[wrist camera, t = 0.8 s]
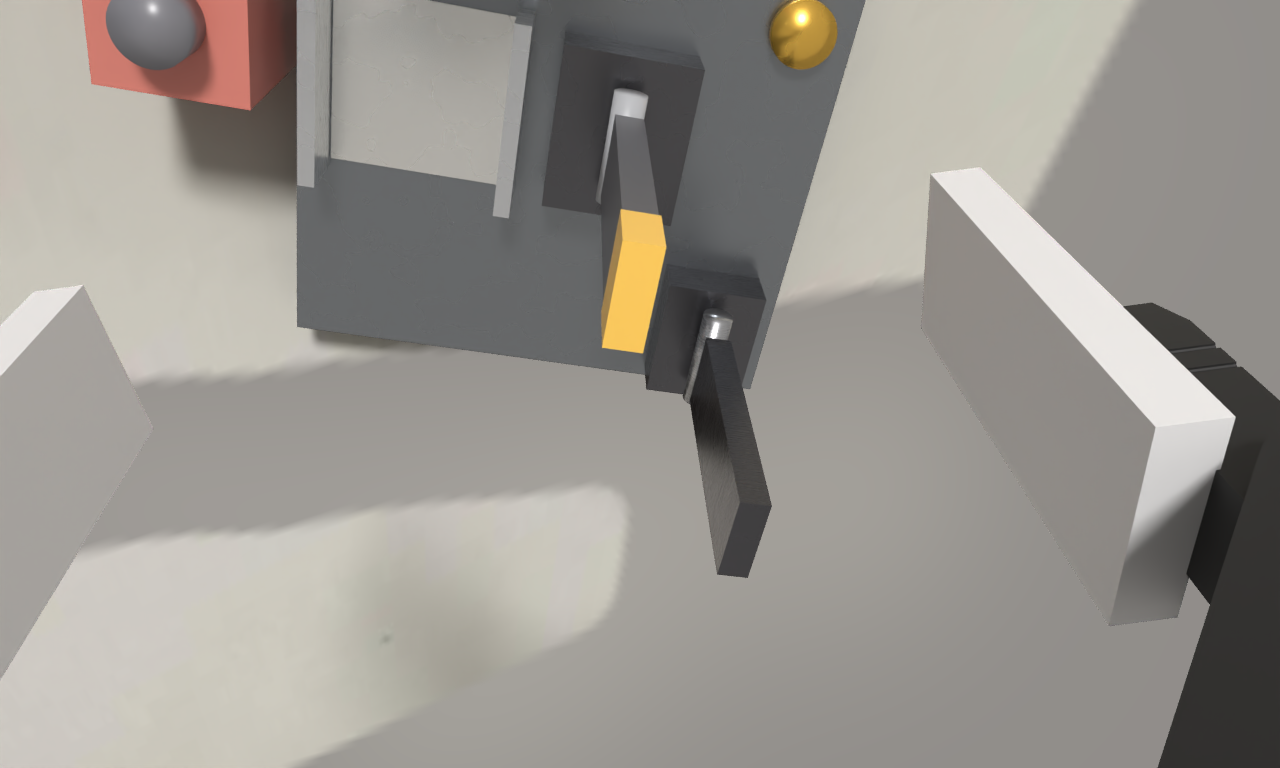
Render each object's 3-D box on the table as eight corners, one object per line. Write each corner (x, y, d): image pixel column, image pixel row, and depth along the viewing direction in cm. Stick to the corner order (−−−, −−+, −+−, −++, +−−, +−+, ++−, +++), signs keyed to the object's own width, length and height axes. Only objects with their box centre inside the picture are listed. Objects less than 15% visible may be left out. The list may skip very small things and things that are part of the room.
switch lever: (595, 193, 35) (597, 361, 25) (614, 86, 33) (623, 223, 23) (627, 198, 36) (641, 368, 25) (647, 92, 34) (672, 230, 23)
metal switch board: (308, 304, 42) (177, 552, 29) (310, -120, 33) (121, -47, 20) (744, 366, 45) (809, 618, 32) (852, -11, 36) (1008, 116, 23)
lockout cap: (161, 40, 36) (70, 97, 30) (150, -105, 34) (48, -77, 27) (297, 64, 37) (236, 124, 31) (297, -76, 34) (230, -42, 28)
